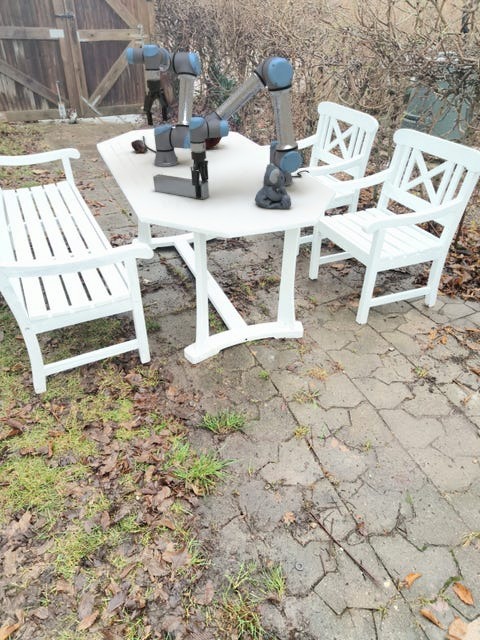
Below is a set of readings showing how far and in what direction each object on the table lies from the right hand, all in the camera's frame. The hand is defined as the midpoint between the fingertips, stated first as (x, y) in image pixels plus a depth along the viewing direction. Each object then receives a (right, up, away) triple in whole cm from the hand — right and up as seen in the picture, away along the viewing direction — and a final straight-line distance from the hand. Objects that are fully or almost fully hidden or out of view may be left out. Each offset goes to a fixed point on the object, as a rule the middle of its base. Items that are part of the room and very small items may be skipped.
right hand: (201, 196), depth 240 cm
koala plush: (+37, -7, -9) cm, 39 cm away
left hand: (-24, +42, +7) cm, 49 cm away
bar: (-11, +3, +5) cm, 13 cm away
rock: (-51, +53, +79) cm, 108 cm away
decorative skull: (-3, +61, +90) cm, 109 cm away
